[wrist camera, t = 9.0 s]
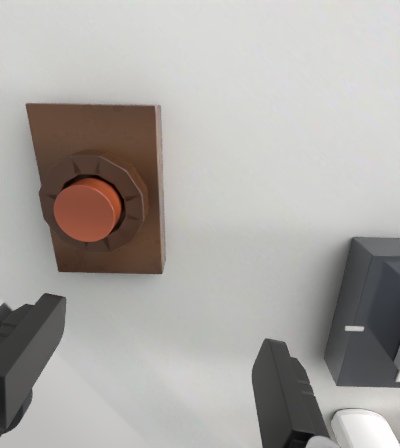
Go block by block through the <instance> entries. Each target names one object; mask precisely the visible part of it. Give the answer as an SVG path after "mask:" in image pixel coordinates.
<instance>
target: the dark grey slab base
mask: <svg viewBox="0 0 400 448" xmlns="http://www.w3.org/2000/svg"><path fill="white" fill-rule="evenodd" d="M399 346H400V238H365V237H353V240H352V244H351V248H350V252H349V256H348V261H347V265H346V269H345V273H344V277H343V281H342V286H341V290H340V294H339V298H338V302H337V306H336V311H335V315H334V319H333V323H332V327H331V332H330V336H329V340H328V344H327V348H326V352H325V357H324V360H325V362H326V364H327V366H328V368H329V371H330V373H331V375H332V377H333V379H334V381H335V384H336V386H354V387H393V388H400V371H399V370H398V368H397V367H396V365H395V364H394V360H395V357H396V354H397V352H398V349H399Z"/></svg>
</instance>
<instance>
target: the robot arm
mask: <svg viewBox="0 0 400 448" xmlns="http://www.w3.org/2000/svg"><path fill="white" fill-rule="evenodd" d="M65 312H66V298H65V297H62V296H57V295H52V294H48V293H45V294H43V295H42V296H41V298H40V299H39V300H38V301H37V302H36V304H35V305H29V304H25V305H23V306H21V307H20V308H18V309H16V310H14V311H13V312H11V313H10V315H9V316H8V317H7V318H6V319H5V320H4V321H3V322H2V324H1V325H0V436H1V435H2V433H3V432H4V430H7V428H8V427H9V425H10V423H11V422H12V420H13V418H14V417H15V415H16V413H17V412H18V410H19V409H20V407H21V405H22V404H23V402H24V400H25V399H26V397H27V395H28V394H29V392H30V390H31V389H32V387H33V385H34V384H35V382H36V380H37V379H38V377H39V376H40V374H41V372H42V371H43V369H44V367H45V366H46V364H47V362H48V361H49V359H50V357H51V356H52V354H53V352H54V351H55V349H56V348H57V346H58V344H59V342H60V340H61V338H62V335H63V331H64V325H65ZM252 384H253V390H254V397H255V403H256V409H257V415H258V421H259V427H260V433H261V440H262V446H263V448H341V447H340V446H339V445H338V444H337V443H335V442H334V441H332V440H331V439H330V436H329V433H328V431H327V428H326V425H325V423H324V420H323V417H322V414H321V412H320V409H319V406H318V403H317V401H316V398H315V396H314V393H313V390H312V387H311V385H310V382H309V379H308V376H307V374H306V371H305V369H304V368H303V366H302V365H301V364H300V362H299V361H298V360H297V358H293V357H290V354H289V351H288V348H287V345H286V343H285V342H282V341H277V340H272V339H267V338H266V339H265V340H264V341H263V344H262V346H261V348H260V351H259V353H258V356H257V358H256V360H255V363H254V365H253V370H252Z"/></svg>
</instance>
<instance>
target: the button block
mask: <svg viewBox="0 0 400 448" xmlns="http://www.w3.org/2000/svg"><path fill="white" fill-rule="evenodd" d="M26 109H27V114H28V119H29V124H30V129H31V134H32V140H33V145H34V150H35V155H36V160H37V165H38V170H39V175H40V180H41V185H42V186H41V188H40V191H39V197H40V202H41V207H42V212H43V217H44V219H45V221H46V222H47V223H48V225H49V226H50V231H51V236H52V241H53V246H54V251H55V256H56V262H57V267H58V271H59V272H87V273H131V274H162V273H163V269H164V265H165V260H166V256H165V225H164V195H163V164H162V134H161V106H160V105H122V104H65V103H26ZM85 178H95V179H99V180H102V181H104V182H106V183H108V184H109V185H110V186H112V187H113V188H114V189H115V191H116V192H117V194H118V195H119V197H120V200H121V204H122V213H121V217H120V219H119V220H118V222H117V223H116V225H115V226H114V228H113V229H112V230H111V232H110V233H109V234H108V235H107V236H106V237H104V238H103V239H101V240H98V241H93V242H84V241H79V240H76V239H74V238H72V237H70V236H69V235H67V234H66V233H65V232H64V231H63V230H62V229H61V228H60V226H59V225H58V223H57V221H56V219H55V216H54V203H55V200H56V198H57V196H58V195H59V193H60V192H61V191H62V190H64V189H65V188H67V187H69V186H70V185H72V184H73V183H75V182H76V181H78V180H81V179H85Z"/></svg>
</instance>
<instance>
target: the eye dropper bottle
mask: <svg viewBox="0 0 400 448" xmlns="http://www.w3.org/2000/svg"><path fill="white" fill-rule="evenodd" d="M331 427H332V430H333V432H334V435H335V438H336V440H337V443H338V445H339V446H340V447H341V448H400V444H399V442H398V441H397V439H396V437H395V435H394V433H393V432H392V430H391V428H390V426H389V425H388V423H387V421H386V420H385V419H384V417H383V416H381V415H379V414H377V413H375V412H372V411H368V410H363V409H345V410H340V411H337V412H336V413H335V415H334V417H333V419H332V421H331Z"/></svg>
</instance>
